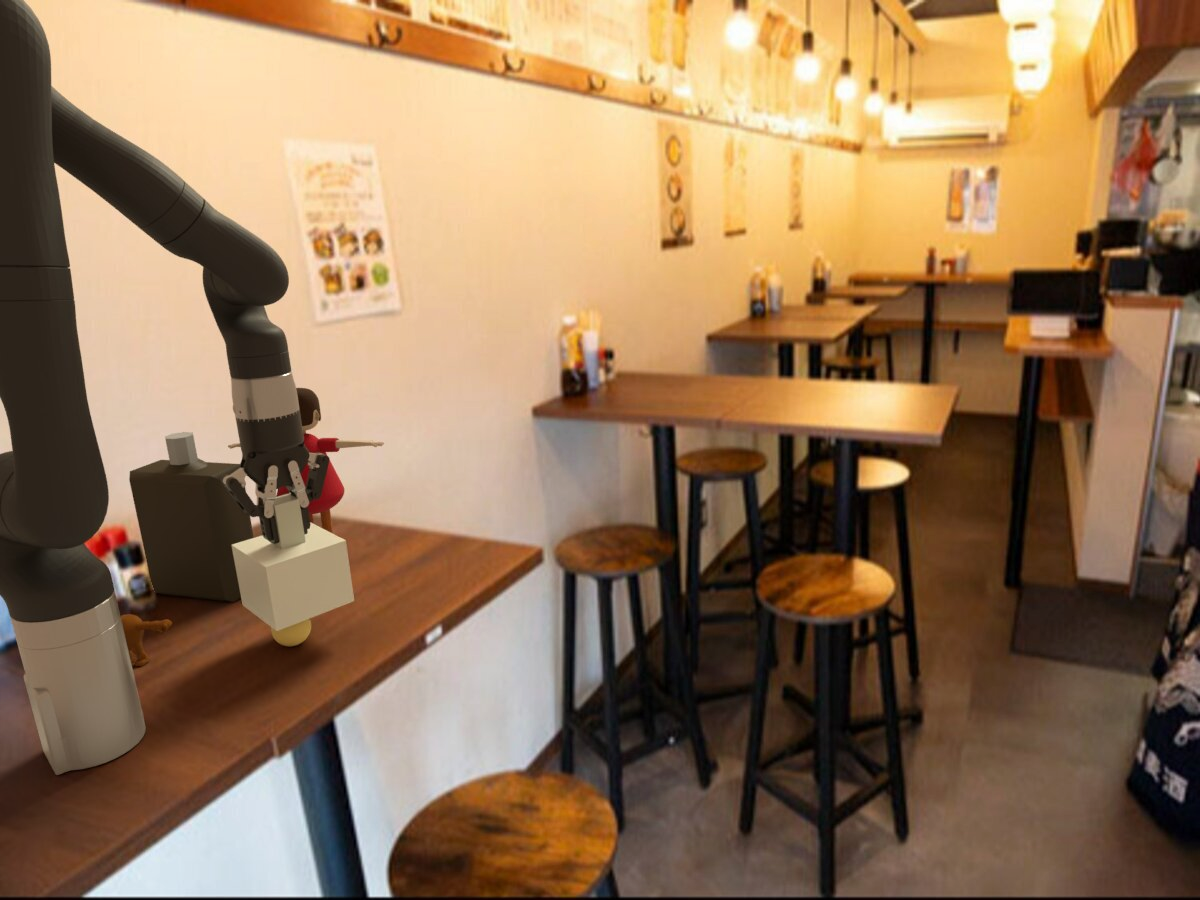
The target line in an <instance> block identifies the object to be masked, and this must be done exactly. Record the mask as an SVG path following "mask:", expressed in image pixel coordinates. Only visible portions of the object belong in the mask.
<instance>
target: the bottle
mask: <svg viewBox="0 0 1200 900" xmlns="http://www.w3.org/2000/svg"><path fill="white" fill-rule="evenodd" d="M164 438H165V444H166V448H167V449H166V450H167V455H168V459H160V460H159V459H158V460H156V461H154V462H151V463H149V464H146V465H142V466H140V467H138V468H135V469H133V470H130V471H129V479H128V480H129V485H130V490H131V494H132V495H131V496H132V499H133V504H134V509H135V513H136V518H137V522H138V527H139V532H140V537H141V542H142V547H143V551H144V555H145V561H146V566H147V570H148V574H149V579H151V580H150V583H151V582H152V585H153V588H154V591H155V592H156V593H155V592H154V591H153V592H154V593H155V594H157V593H159V595H166V594H167V595H168V596H174V597H184V598H195V599H204V600H212V601H221V602H231V603H235V602H237V601H238V600H239V599H241V594H240V589H239V583H238V578H237V572H236V567H235V562H234V556H233V551H232V544H236V543H239V542H242V541H245V540H249V539H252V538H255V536H254V532H253V531H254V530H253V526H252V520H251V516H249V515H248V514H246V513H244V512H243V511H242V510H241V509H240V507H239V506H238V504H237V503H236V502H235V500H234V499H233V497H232V496H231V495H230V493H229V492H228V490H227V489H226V488H225V486H224V485H223V484H222V482H221V477H222V476H223V475H225V474H227V475H230V474H232V473H233V472H235V471H236V470H238V469H239V468H240V463H231V462H230V463H229V462H228V463H226V462H209V461H208V462H207V461H205V460H203V459H200V458H199V457H198V453H197V447H196V443H195V437H194V432H191V431H190V432H189V431H188V432H186V431H185V432H184V431H183V432H182V431H181V432H176V433H171V434H167V435H165V436H164ZM243 489H244V490H245V491H246V492H247V490H246V489H247V488H246V486H245V487H244V488H243ZM152 585H151V586H152Z"/></svg>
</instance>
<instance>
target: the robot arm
mask: <svg viewBox="0 0 1200 900" xmlns="http://www.w3.org/2000/svg"><path fill="white" fill-rule="evenodd" d="M50 49H51V48H50V45H49V42H48V39H47V34H46V31H45V30H44V27H43V26H42V24H41V21H40V18H38V17H37V15H36V14H35V12H34V11H33V9H32V8H31V7H30V5H28V4H27V2H26V1H25V0H0V401H1V403H2V404H3V408H4V411H5V414H6V417H7V421H8V427H9V433H10V440H11V441H10V443H11V450H10V451H5V452H1V453H0V597H1V598H2V599H3V601H4V603H5V605H6V607H7V610H8V614H9V617H10V621H11V625H12V628H13V633H14V636H15V639H16V643H17V646H18V647H17V648H18V651H19V655H20V659H21V663H22V666H23V669H24V674H23V681H24V684H25V685H24V686H25V688H26V692H27V696H28V700H29V702H30V707H31V710H32V714H33V718H34V722H35V725H36V729H37V731H38V736H39V739H40V744H41V749H42V751H43V753H44V755H45V757H46V759H47V761H48V763H49V765H50V767H51V769H52V771H53V773H54V774H55V775H56V776H59V775H61V774H64V773H67V772H69V771H77V770H85V769H89V768H93V767H97V766H99V765H102V764H103V765H104V764H105V763H108V762H110V761H113V760H115V759H117V758H119V757H121V756H122V755H125V753H128V752H129V751H131V750H132V749H133V748H135V746H137V744H139V743H140V741H141V740H142V739H143V737H144V735H145V733H146V729H147V727H146V724H145V723H146V722H145V719H144V712H143V709H142V705H141V700H140V696H139V692H138V687H137V683H136V678H135V674H134V669H133V665H132V663H131V660H130V656H129V652H128V647H127V643H126V638H125V634H124V630H123V625H122V621H121V617H120V616H121V613H120V609H119V604H118V599H117V596H116V591H115V585H114V582H113V581H114V580H113V577H112V573H111V570H110V569H109V567H108V565H107V564H106V563H105V562H104V561H103V560H101V559H100V558H99V557H98V556H96V555H95V554H94V552H92V550H90V549H89V548H88V546H87V544H85V543H86V542H88V541H90V540H91V539H93V537H94V536H95V535H96V534H97V533H98V531H99V530H100V528H101V527H102V525H103V523H104V522H105V518H106V516H107V513H108V508H109V502H110V501H109V500H110V497H109V495H110V493H109V485H108V478H107V474H106V469H105V466H104V462H103V459H102V455H101V454H102V453H101V450H100V447H99V444H98V443H99V442H98V439H97V436H96V431H95V428H94V423H93V419H92V415H91V409H90V406H89V400H88V394H87V388H86V387H87V386H86V381H85V372H84V366H83V360H82V359H83V358H82V352H81V347H80V341H79V332H78V325H77V313H76V300H75V295H74V287H73V279H72V272H71V271H72V270H71V268H70V267H71V264H70V263H71V262H70V258H69V252H68V246H67V240H66V235H65V226H64V218H63V211H62V204H61V198H60V192H59V185H58V178H57V173H56V167H55V165H56V166H59V168H61V169H63V170H64V171H65V172H67V174H69V175H71V176H72V177H74V178H75V179H76V180H77V181H79V182H81V183H82V185H84V186H86V188H88V189H90V190H91V191H93V192H94V193H95V194H96V195H98V196H99V197H100V198H102V200H104V201H105V202H106V203H108V204H109V205H110V206H111V207H113V208H114V209H116V210H117V211H118V212H119V213H120V214H121V215H122V216H124V217H125V218H126V219H128V220H129V222H131V223H132V224H134V225H135V226H136V227H137V228H138V229H140V230H141V231H142V232H144V234H146V235H147V236H149V237H150V238H151V239H152V240H153V241H155V242H156V243H157V244H158V245H160V246H162V248H164V249H165V250H166V251H168V252H169V253H171V254H172V255H174V256H177V257H178V258H182V259H185V260H189V261H192V262H194V263H197V264H198V265H200V266H201V267H203V268H202V284H203V285H202V287H203V291H204V294H205V297H206V300H207V303H208V305H209V308H210V311H211V313H212V316H213V319H214V320H215V321H214V322H215V323H216V326H217V328H218V330H219V332H220V334H221V336H222V339H223V341H224V343H225V349H226V358H227V364H228V369H229V374H230V382H231V383H230V386H231V399H232V400H231V401H232V412H233V413H234V417H235V421H236V427H237V434H238V435H237V436H238V438H239V440H238V441H239V443H240V446H241V447H240V449H241V451H240V452H241V461H240V463H239V464H240V468H239V469H238V470H236V471H235V472H233V473H232V474H230V475H227V474H225V475H223V476H222V477H221V482H222V484H223V485H224V486H225V488H226V489H227V490H228V492H229V493H230V495H231V496H232V497H233V499H234V500H235V502H236V503H237V504H238V506H239V507H240V509H241V510H242V511H243V512H244V513H246V514H248V515H249V516H250V518H255V517H258V518H259V524H260V529H261V536H263V537H264V538H265V539H266V540H268V541H269V542H271V543H272V544H276V543H279V536H278V530H277V524H276V518H275V516H273V514H274V500H275V499H276V495H277V490H278V489H279V488H280V487H282V486H285V487H286V488H287V489H288V491H289V494H290V495H292V496H294V497H296V498H298V499H299V503H300V509H301V515H302V522H303V528H304V534H307V533H308V531H307V529H310V525H311V524H310V518H309V511H308V505H309V503H310V502H311V501H313V500H314V499H319V498H320V497H321V494H322V490H323V486H324V482H325V477H326V473H327V469H328V465H329V461H331V459H330V456H329V455H327V456H326V455H324V454H322V453H318V452H316V453H310V452H309V451H308V449H307V448H306V447H305V445H304V435H303V428H302V422H301V415H300V409H299V402H298V396H297V390H296V388H297V386H296V382H295V380H294V379H295V378H294V376H293V372H292V366H291V365H292V364H291V359H290V352H289V345H288V344H289V343H288V340H287V336H286V333H285V332H284V330H283V329H282V328H281V327H280V326H278V325H276V324H274V323H273V322H272V321H271V320H270V319H269V316H268V313H267V311H266V308H265V306H269V305H272V304H275V303H277V302H279V301H280V300H281V299H282V298H283V297H284V296H285V295H286V294H287V291H288V287H289V282H290V276H289V272H288V268H287V266H286V264H285V262H284V260H283V259H282V257H281V256H280V255H279V254H278V252H277V251H276V250H275V249H274V248H273V247H272V246H270V245H269V244H268V243H267V242H265V241H264V240H263V239H261V238H260V237H259V236H258V235H256V234H254V233H253V232H252V231H250V230H248V229H247V228H245V227H244V226H242V225H241V224H239V223H238V222H236V221H235V220H233V219H231V218H230V217H228V216H226V215H224V214H223V213H221V212H220V211H218V210H217V209H216V208H214V207H213V205H211V204H210V203H209V202H208V201H207V200H206V199H205V198H204V197H203V196H202V195H201V194H200V193H198V192H197V191H196V190H195V189H194V188H193V187H192V186H191V185H189V184H188V183H187V182H186V181H185V180H184V179H183V178H182V177H181V176H179V174H177V172H175V171H174V170H173V169H171V168H170V167H169V166H168V165H166V164H165V163H164V162H163V161H161V160H160V159H159V158H157V157H155V156H154V155H152V154H151V153H149V152H148V151H146V150H144V148H142V147H140V146H139V145H137V144H135V143H133V142H131V141H130V140H128V139H127V138H125V137H123V136H121V135H120V134H118V133H117V132H115V131H113V130H111V129H110V128H108V127H106V126H105V125H103V124H102V123H101V122H98V120H96V119H93V117H91V116H89V115H88V113H86V112H84V111H83V110H81V108H79V107H77V106H76V105H75V104H73V103H72V102H71V101H70V100H68V99H67V98H66V97H65V96H63V95H62V94H61V93H60V92H59V91H58V90H57V89H56V88H54V87H53V86H52V59H51V50H50ZM307 461H308V467H309V468H310V470H309V474H308V478H307V482H306V486H305V485H304V483H303V480H302V477H301V474H302V472H303V469H304V467H305V465H306V463H307ZM246 476H247V477H248V479H251V481H253V482H254V483H255V490H254V491H255V496H256V504H255V503H254V502H253V500H252V498H251V497H250V496H249V494H248V493H247V490H246V491H245V490H244V489H243V488H244V487H245V488H246V484H247V483H246Z"/></svg>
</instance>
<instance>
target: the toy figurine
mask: <svg viewBox="0 0 1200 900" xmlns="http://www.w3.org/2000/svg"><path fill="white" fill-rule="evenodd" d="M120 617H121V621H122V625H123V630H124V634H125V638H126V643H127V647H128V652H129V656H130V660H131V664H133V663H134V666H135V667H137V666H140V667H143V666H145V665H147V664H148V663H149V662H150V660H151V659H150V657H149V656H148V654H147V652H146V651H144V646H143V641H142V639H143V637H144V633H145V630H146V631H147V630H151V631H155V632H157V631H158V633H161V634H166V633H167V630H168V629H169V628H170V627H171V626H172V625H173V621H171V620H169V619H166V618H164V619H163V620H153V621H150V620H149V621H148V620H146V621H143V620H142V618H140V617H139V616H138V615H135V614H130V613H127V614H122V615H120ZM131 650H132V651H131ZM133 653H134V654H135V655H136V658H137V659H136V658H135V656H134V654H133ZM135 659H136V660H135ZM146 663H147V664H146Z"/></svg>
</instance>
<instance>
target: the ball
mask: <svg viewBox="0 0 1200 900" xmlns="http://www.w3.org/2000/svg"><path fill="white" fill-rule="evenodd" d="M311 630H312V622H311V618H309V619H307V620H304V621H302V622H299V623H297V624H294V625H291V626H289V627H286V628H284V629H281V630H279V631H276V630H274V629H273V628H272V627H271V630H270V631H271V635H272V637H273V639H274V640H275V641H276V642H277V644H279V645H281V646H285V647H294V646H298V645H300V644H302V643H304V641H305V640H306V639H307V638H308V637H309V635H310V633H311Z"/></svg>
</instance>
